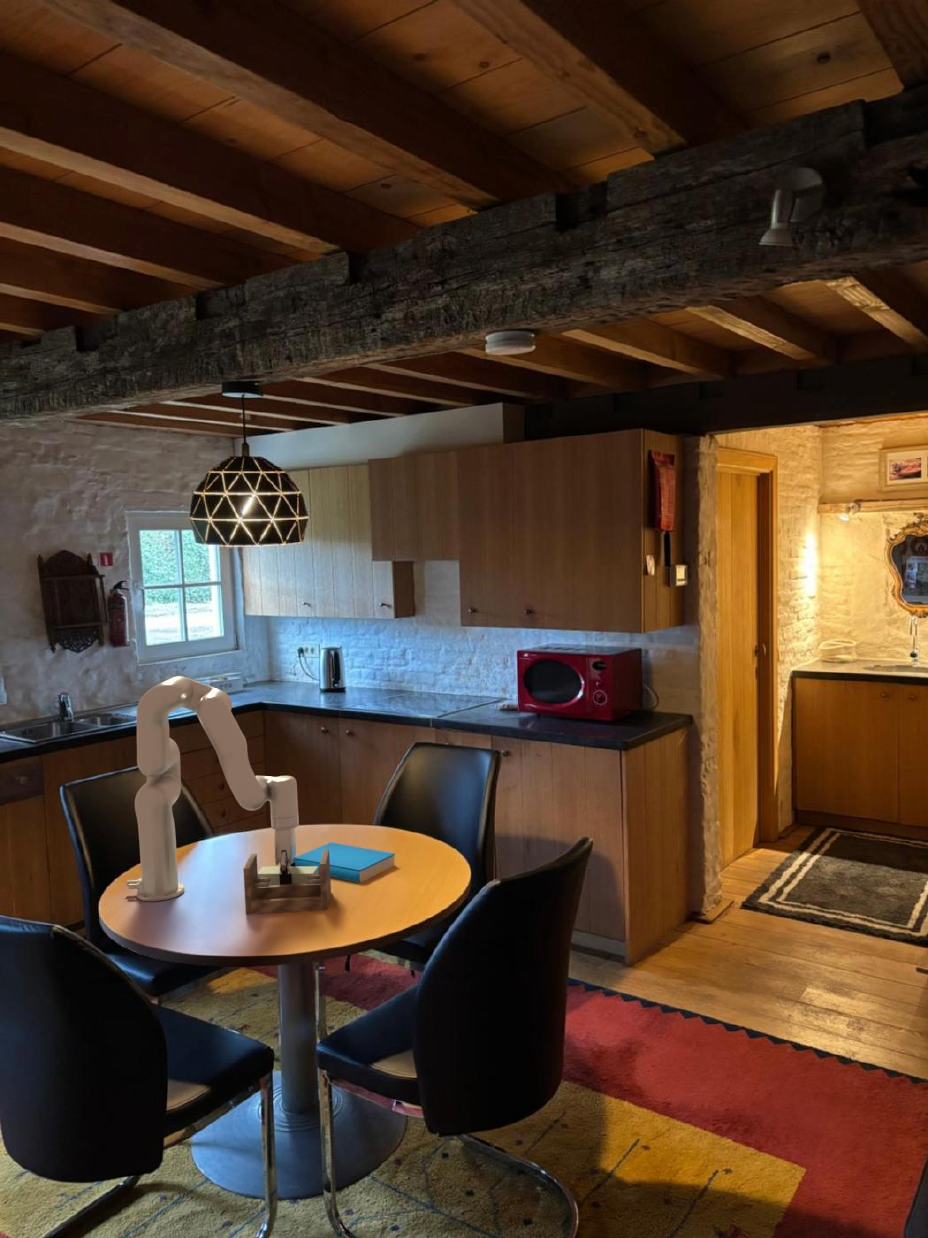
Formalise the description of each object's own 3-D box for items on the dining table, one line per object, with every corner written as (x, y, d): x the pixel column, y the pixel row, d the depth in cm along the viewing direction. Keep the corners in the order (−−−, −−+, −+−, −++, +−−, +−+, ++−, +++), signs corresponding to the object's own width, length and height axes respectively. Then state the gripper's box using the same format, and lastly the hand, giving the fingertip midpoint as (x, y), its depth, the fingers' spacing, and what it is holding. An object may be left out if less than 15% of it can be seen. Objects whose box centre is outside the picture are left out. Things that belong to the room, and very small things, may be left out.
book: (330, 842, 288) (395, 852, 275) (330, 856, 289) (396, 866, 275) (292, 858, 274) (359, 869, 261) (293, 872, 274) (360, 884, 261)
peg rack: (245, 914, 241) (243, 868, 240) (253, 897, 253) (251, 854, 252) (327, 909, 242) (325, 864, 241) (331, 892, 254) (329, 849, 253)
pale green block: (256, 891, 258) (256, 873, 258) (263, 883, 264) (262, 866, 264) (313, 891, 256) (312, 873, 256) (318, 883, 262) (318, 866, 262)
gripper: (275, 813, 267) (278, 872, 268) (266, 831, 250) (270, 894, 251) (301, 812, 268) (305, 871, 269) (294, 829, 250) (298, 892, 252)
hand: (288, 882), depth 260 cm, fingers open, 8 cm apart
